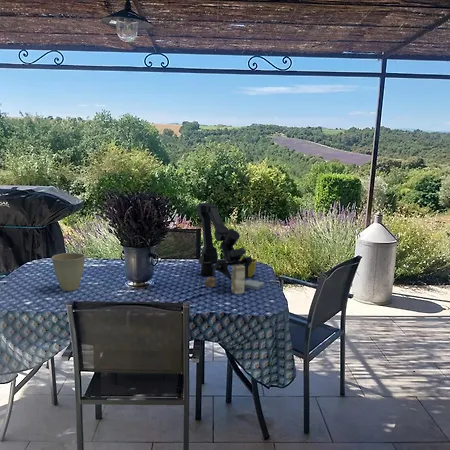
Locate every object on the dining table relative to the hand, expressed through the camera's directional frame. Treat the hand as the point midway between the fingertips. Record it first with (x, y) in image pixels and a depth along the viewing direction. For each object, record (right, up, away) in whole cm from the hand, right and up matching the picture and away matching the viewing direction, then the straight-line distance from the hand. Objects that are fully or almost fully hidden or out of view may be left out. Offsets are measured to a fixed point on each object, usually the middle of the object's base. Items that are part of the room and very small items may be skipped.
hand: (239, 278), depth 216 cm
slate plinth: (+7, -5, +13) cm, 15 cm away
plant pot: (-81, -5, +1) cm, 81 cm away
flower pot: (+5, -3, +31) cm, 32 cm away
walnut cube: (-14, -5, +11) cm, 19 cm away
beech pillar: (-1, -7, +2) cm, 7 cm away
